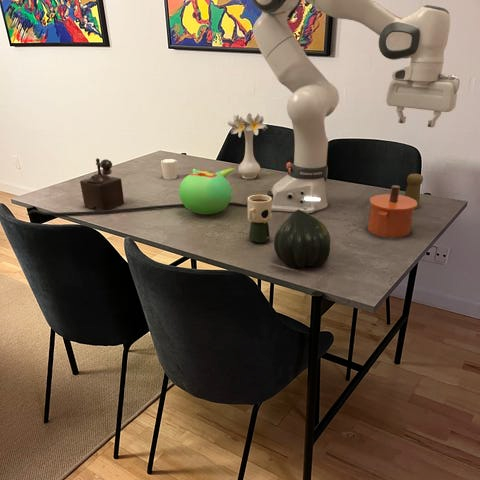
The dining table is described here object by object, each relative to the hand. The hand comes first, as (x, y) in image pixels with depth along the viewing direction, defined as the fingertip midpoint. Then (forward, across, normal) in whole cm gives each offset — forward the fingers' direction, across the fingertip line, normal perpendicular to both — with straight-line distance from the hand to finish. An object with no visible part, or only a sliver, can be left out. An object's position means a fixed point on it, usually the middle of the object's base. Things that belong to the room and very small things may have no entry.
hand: (416, 124), depth 145 cm
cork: (+29, +3, -13) cm, 32 cm away
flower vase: (+29, +70, -1) cm, 76 cm away
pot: (+29, -3, +13) cm, 32 cm away
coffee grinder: (+29, +82, +59) cm, 105 cm away
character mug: (+29, +22, +46) cm, 58 cm away
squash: (+29, +3, +49) cm, 58 cm away
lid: (+20, -3, +13) cm, 24 cm away
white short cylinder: (+29, +94, +21) cm, 101 cm away
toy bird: (+29, +52, +39) cm, 71 cm away
